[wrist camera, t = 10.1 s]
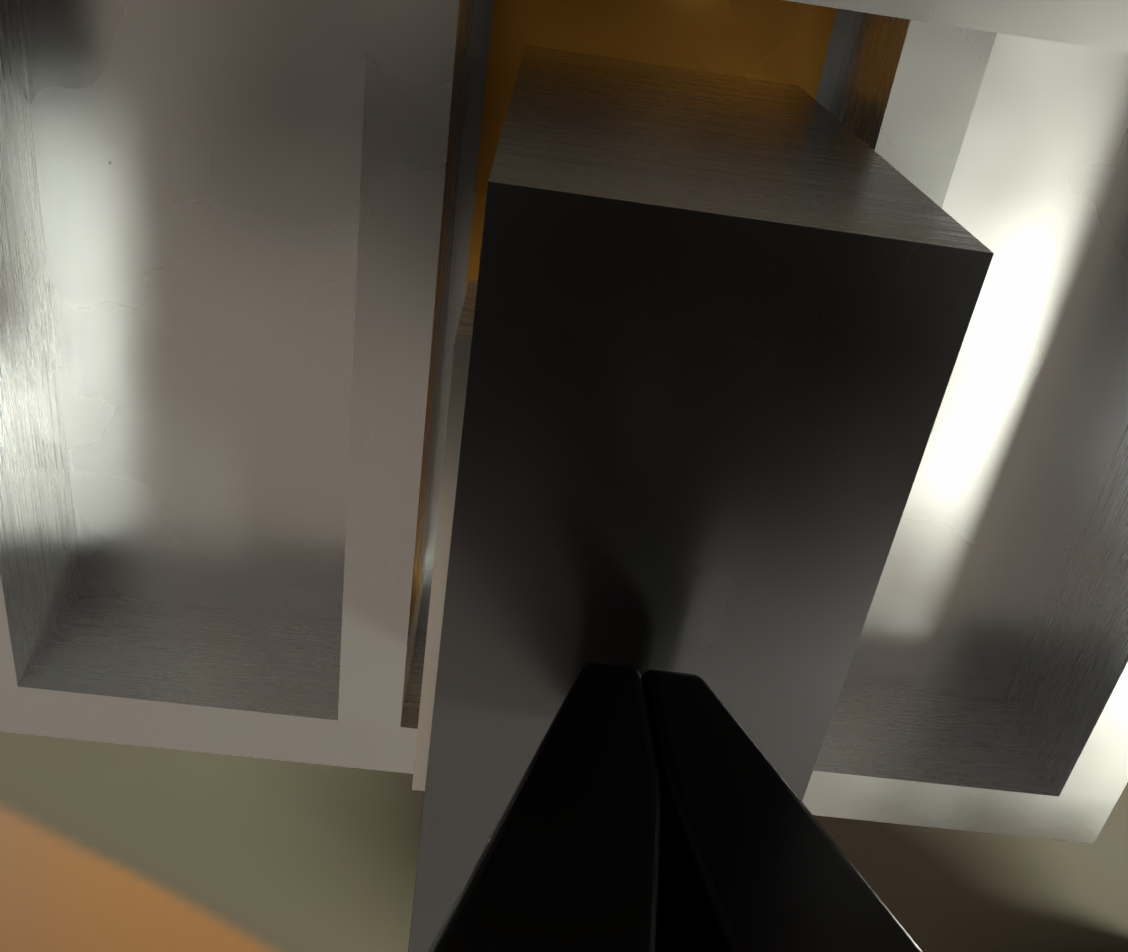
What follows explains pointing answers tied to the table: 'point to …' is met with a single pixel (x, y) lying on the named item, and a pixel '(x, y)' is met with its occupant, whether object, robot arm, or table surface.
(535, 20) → the rack
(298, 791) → the table surface
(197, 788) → the table surface
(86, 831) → the table surface
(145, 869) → the table surface
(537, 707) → the dark grey block
